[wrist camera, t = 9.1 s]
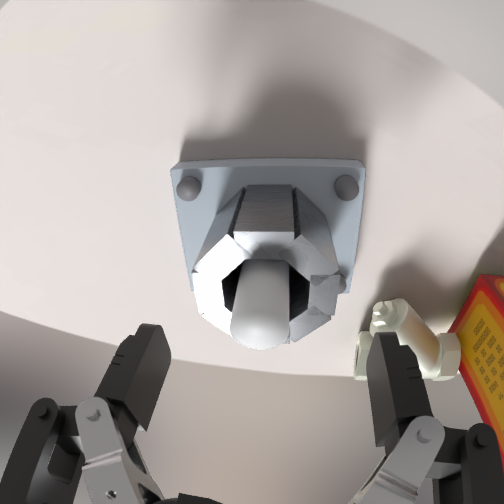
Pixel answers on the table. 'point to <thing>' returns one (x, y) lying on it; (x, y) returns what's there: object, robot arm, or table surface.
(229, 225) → the hub
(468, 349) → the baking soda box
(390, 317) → the pipe fitting
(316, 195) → the mounting base with peg
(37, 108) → the table surface
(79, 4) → the table surface
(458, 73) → the table surface
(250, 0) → the table surface
